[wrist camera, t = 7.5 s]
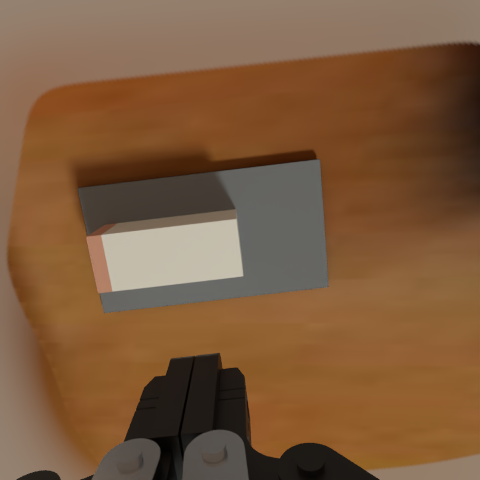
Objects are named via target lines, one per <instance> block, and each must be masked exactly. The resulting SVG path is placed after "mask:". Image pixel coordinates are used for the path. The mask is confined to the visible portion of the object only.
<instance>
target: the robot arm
mask: <svg viewBox="0 0 480 480" xmlns="http://www.w3.org/2000/svg"><path fill="white" fill-rule="evenodd" d="M17 480H61V479H60V477H59V475H58V474H57V473H55V472H52V471H47V470H45V471H37V472H33V473H30V474H27V475H25V476H22V477H20V478H18V479H17ZM81 480H379V479H378V478H376V477H375V476H373V475H371V474H370V473H368V472H367V471H365V470H364V469H362V468H361V467H359V466H357V465H356V464H354V463H353V462H351V461H350V460H348V459H347V458H345V457H344V456H342V455H340V454H339V453H337V452H336V451H334V450H333V449H331V448H329V447H327V446H325V445H322V444H317V443H303V444H298V445H295V446H293V447H291V448H289V449H288V450H287V451H285V452H284V453H283V455H282V456H281V457H280V459H279V458H273V457H269V456H265V455H263V454H261V453H259V452H257V451H256V450H254V449H253V448H252V447H251V428H250V415H249V408H248V400H247V392H246V385H245V377H244V375H243V374H242V373H241V371H240V370H239V369H238V368H228V369H222V362H221V356H220V353H215V354H206V355H197V356H196V357H195V356H189V357H180V358H172V359H171V360H170V363H169V366H168V370H167V373H166V376H157V377H154V378H153V379H152V380H151V381H150V382H149V383H148V384H147V385H146V386H145V387H144V390H143V393H142V395H141V398H140V402H139V403H138V406H137V408H136V411H135V414H134V416H133V419H132V422H131V424H130V427H129V429H128V432H127V435H126V437H125V440H124V442H123V443H121V444H119V445H117V446H115V447H114V448H113V449H111V450H110V451H109V452H108V453H107V454H106V455H105V456H104V457H103V459H102V461H101V462H100V464H99V466H98V468H97V470H96V472H95V474H94V475H91V476H89V477H87V478H84V479H81Z"/></svg>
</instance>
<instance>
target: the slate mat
mask: <svg viewBox="0 0 480 480" xmlns="http://www.w3.org/2000/svg"><path fill="white" fill-rule="evenodd" d="M78 193H79V197H80V202H81V207H82V211H83V216H84V221H85V225H86V230H87V235H90V234H91V233H93V232H94V231H96V230H97V229H99V228H100V227H102V226H104V225H107V224H115V223H123V222H132V221H140V220H149V219H157V218H165V217H174V216H182V215H191V214H199V213H208V212H216V211H224V210H233V209H236V213H237V221H238V230H239V238H240V246H241V254H242V265H243V276H242V277H234V278H225V279H217V280H208V281H200V282H191V283H182V284H174V285H165V286H157V287H148V288H139V289H131V290H122V291H114V292H105V293H100V296H101V301H102V305H103V310H104V313H108V312H117V311H126V310H134V309H143V308H152V307H160V306H169V305H177V304H186V303H195V302H203V301H212V300H221V299H229V298H238V297H246V296H255V295H264V294H272V293H281V292H290V291H298V290H307V289H316V288H324V287H329V286H328V271H327V257H326V242H325V228H324V213H323V199H322V184H321V170H320V159H315V160H307V161H299V162H290V163H282V164H273V165H265V166H257V167H248V168H240V169H232V170H223V171H215V172H207V173H198V174H190V175H182V176H173V177H165V178H157V179H148V180H140V181H132V182H123V183H115V184H107V185H98V186H90V187H82V188H78Z"/></svg>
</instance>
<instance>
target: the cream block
mask: <svg viewBox="0 0 480 480" xmlns="http://www.w3.org/2000/svg"><path fill="white" fill-rule="evenodd" d="M86 239H87V244H88V248H89V253H90V258H91V262H92V267H93V272H94V276H95V281H96V286H97V290H98V293H105V292H114V291H122V290H131V289H139V288H148V287H157V286H165V285H174V284H182V283H191V282H200V281H208V280H217V279H225V278H234V277H242V276H243V265H242V254H241V246H240V238H239V230H238V221H237V213H236V209H233V210H224V211H216V212H208V213H199V214H191V215H182V216H174V217H165V218H157V219H149V220H140V221H132V222H123V223H115V224H107V225H104V226H102V227H100V228H99V229H97V230H96V231H94V232H93V233H91V234H90V235H88V236H87V237H86Z"/></svg>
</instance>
